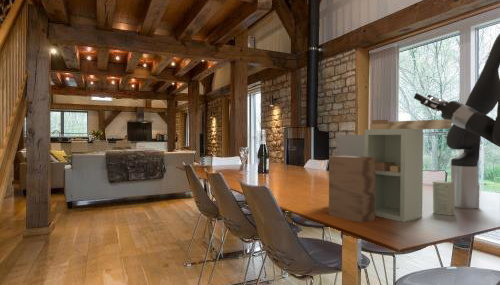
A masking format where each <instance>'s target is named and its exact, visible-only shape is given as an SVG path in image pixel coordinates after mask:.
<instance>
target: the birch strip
mask: <svg viewBox="0 0 500 285" xmlns="http://www.w3.org/2000/svg"><path fill="white" fill-rule="evenodd" d="M451 127H452V123H451V120H448V119H443V118H442V119H423V120H422V119H421V120H417V119H416V120H401V121H400V120H397V121H388V129H423V130H450V129H451Z"/></svg>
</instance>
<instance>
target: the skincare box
mask: <svg viewBox="0 0 500 285" xmlns="http://www.w3.org/2000/svg"><path fill="white" fill-rule="evenodd" d="M432 205H433V206H432V207H433V208H432V210H433V214H438V215H443V216H452V215H455V213H456V212H455V210H456V207H455V206H454V182H451V181H444V180H441V181H440V180H436V181H432Z"/></svg>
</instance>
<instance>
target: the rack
mask: <svg viewBox="0 0 500 285" xmlns="http://www.w3.org/2000/svg"><path fill="white" fill-rule="evenodd" d="M388 122H389V120H388V119H371V123H370V124H369V129H364V135H365V149H364V157H375V217H378V218H379V217H380V218H383V217H384V219H388V220H393V221H398V222H401V221H402V223H407V222H410V220H411V221H414V220H417V218H418V219H420V218H421V217H422V218H423V187H424V186H423V184H424V183H423V179H424V177H423V176H424V174H423V173H424V172H423V171H424V170H423V169H424V163H423V162H424V161H423V160H424V129H388ZM422 218H421V219H422ZM406 221H407V222H406Z"/></svg>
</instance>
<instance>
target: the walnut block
mask: <svg viewBox="0 0 500 285" xmlns="http://www.w3.org/2000/svg"><path fill="white" fill-rule="evenodd" d="M328 215H329V216H331V217H337V218H340V219H344V220H348V221H353V222H357V223H360V224H361V223H366V222H370V221H374V219H376V216H375V157H361V156H344V155H343V156H337V155H328Z"/></svg>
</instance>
